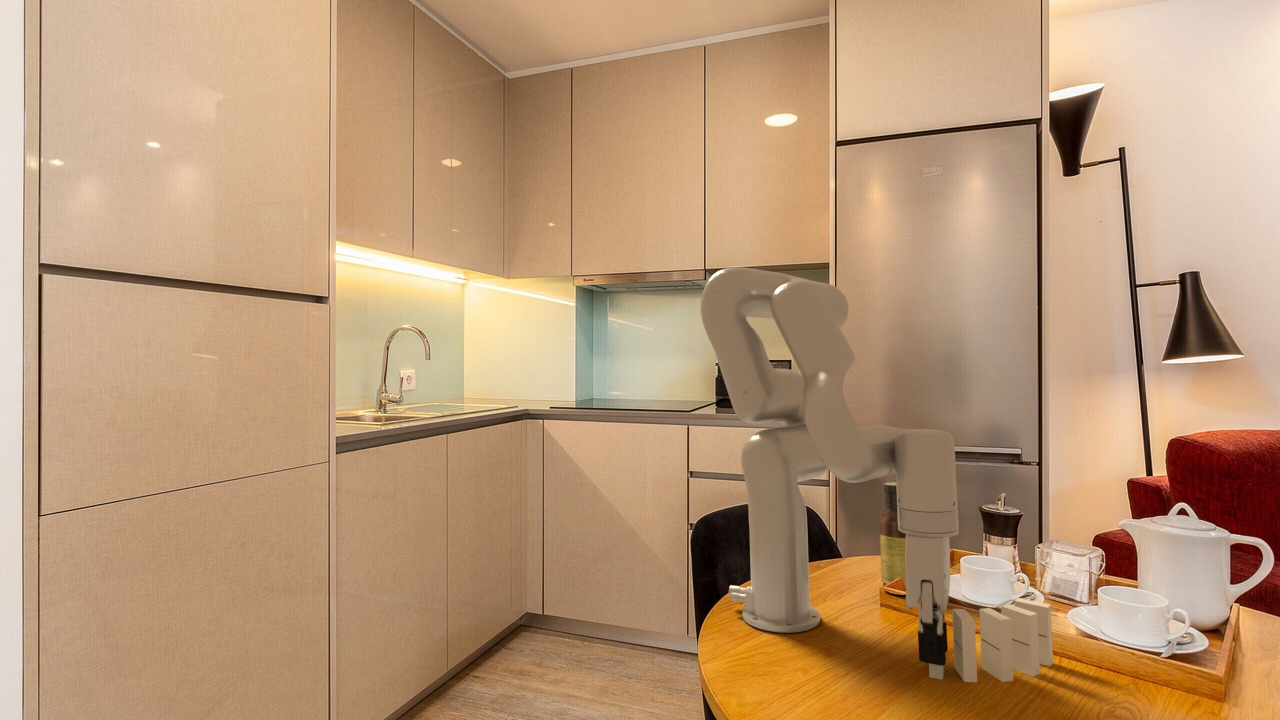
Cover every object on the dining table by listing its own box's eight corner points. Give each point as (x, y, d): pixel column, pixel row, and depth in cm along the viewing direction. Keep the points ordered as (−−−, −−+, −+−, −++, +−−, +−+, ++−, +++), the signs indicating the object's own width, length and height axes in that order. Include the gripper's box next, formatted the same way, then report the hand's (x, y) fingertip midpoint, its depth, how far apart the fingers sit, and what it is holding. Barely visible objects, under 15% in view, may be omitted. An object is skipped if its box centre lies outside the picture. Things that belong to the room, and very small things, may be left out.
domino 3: (1032, 676, 83) (1029, 615, 83) (1003, 664, 87) (1000, 606, 87) (1040, 673, 84) (1037, 613, 84) (1011, 661, 87) (1008, 603, 88)
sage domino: (929, 677, 84) (927, 617, 84) (931, 665, 87) (929, 607, 87) (943, 680, 83) (941, 619, 83) (945, 668, 86) (943, 609, 87)
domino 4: (1050, 666, 86) (1047, 607, 86) (1017, 658, 88) (1014, 600, 89) (1053, 662, 87) (1050, 604, 87) (1020, 654, 90) (1018, 597, 90)
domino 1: (963, 681, 82) (961, 619, 82) (954, 667, 86) (952, 608, 86) (978, 682, 82) (975, 620, 82) (967, 668, 86) (965, 609, 86)
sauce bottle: (922, 598, 112) (918, 487, 113) (885, 596, 114) (881, 486, 114) (913, 586, 119) (910, 481, 119) (879, 585, 120) (875, 480, 121)
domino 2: (1002, 681, 82) (999, 619, 82) (981, 668, 86) (979, 608, 86) (1014, 680, 82) (1011, 618, 82) (992, 666, 86) (990, 607, 86)
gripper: (904, 506, 95) (910, 630, 94) (889, 531, 80) (896, 677, 80) (960, 510, 91) (966, 638, 91) (955, 537, 77) (962, 689, 76)
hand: (933, 655), depth 85 cm, fingers closed on sage domino, 3 cm apart
